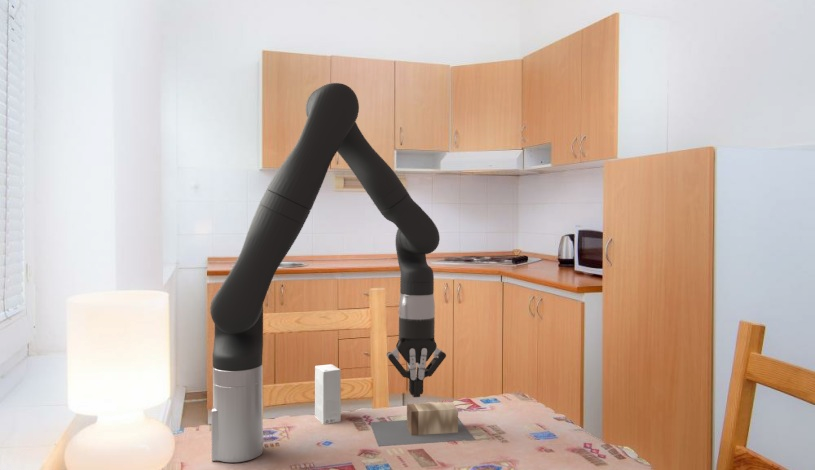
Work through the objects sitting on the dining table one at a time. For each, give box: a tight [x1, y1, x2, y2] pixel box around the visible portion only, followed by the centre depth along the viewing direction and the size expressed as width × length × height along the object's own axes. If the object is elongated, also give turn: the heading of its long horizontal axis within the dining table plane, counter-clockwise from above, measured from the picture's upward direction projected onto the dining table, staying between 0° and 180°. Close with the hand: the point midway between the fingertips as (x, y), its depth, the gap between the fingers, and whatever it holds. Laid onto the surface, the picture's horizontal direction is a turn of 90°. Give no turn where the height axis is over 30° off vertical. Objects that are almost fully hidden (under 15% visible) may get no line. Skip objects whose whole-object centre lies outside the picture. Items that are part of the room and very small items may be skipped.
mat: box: [369, 417, 476, 447], centre depth 129 cm, size 20×14×1 cm
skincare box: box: [314, 363, 342, 425], centre depth 137 cm, size 6×4×12 cm
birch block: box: [406, 401, 459, 436], centre depth 130 cm, size 5×5×10 cm
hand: (416, 396), depth 129 cm, fingers closed
